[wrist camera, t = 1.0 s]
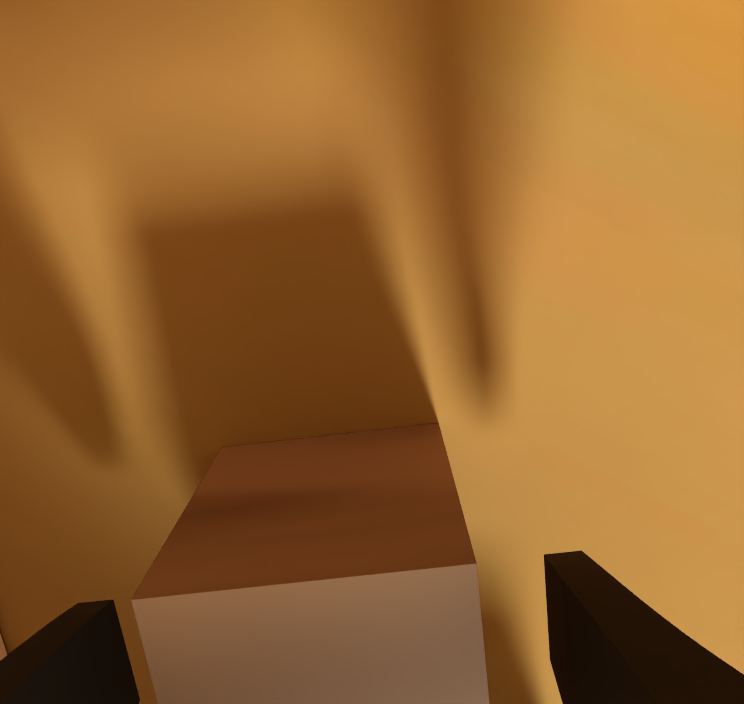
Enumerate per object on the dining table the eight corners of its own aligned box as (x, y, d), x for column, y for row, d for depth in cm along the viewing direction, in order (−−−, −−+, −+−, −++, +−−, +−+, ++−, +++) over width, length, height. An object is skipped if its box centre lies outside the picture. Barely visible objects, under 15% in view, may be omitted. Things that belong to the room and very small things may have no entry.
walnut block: (457, 609, 14) (501, 834, 9) (259, 629, 14) (197, 861, 9) (438, 421, 13) (477, 562, 8) (222, 446, 13) (131, 600, 8)
